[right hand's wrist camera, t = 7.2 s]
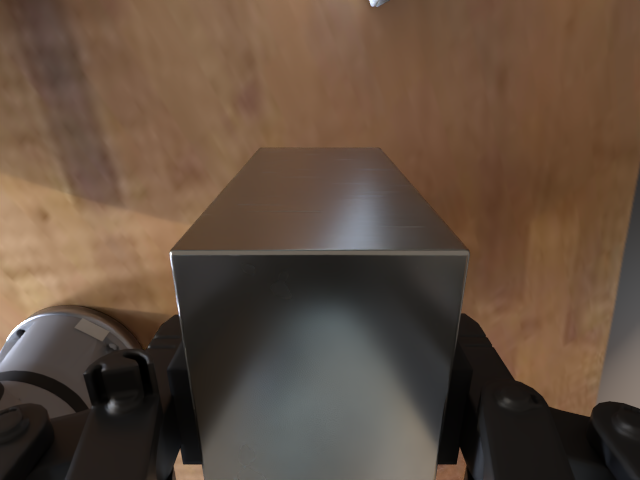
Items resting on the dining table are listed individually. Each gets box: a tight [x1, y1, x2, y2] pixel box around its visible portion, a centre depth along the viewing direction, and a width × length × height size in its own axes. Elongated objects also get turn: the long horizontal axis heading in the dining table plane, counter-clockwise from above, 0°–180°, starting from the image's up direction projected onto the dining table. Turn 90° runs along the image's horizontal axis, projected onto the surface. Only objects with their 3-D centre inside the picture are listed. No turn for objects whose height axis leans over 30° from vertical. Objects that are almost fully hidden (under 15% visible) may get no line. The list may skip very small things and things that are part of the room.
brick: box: [170, 148, 470, 480], centre depth 13 cm, size 9×5×10 cm, turn 0°
